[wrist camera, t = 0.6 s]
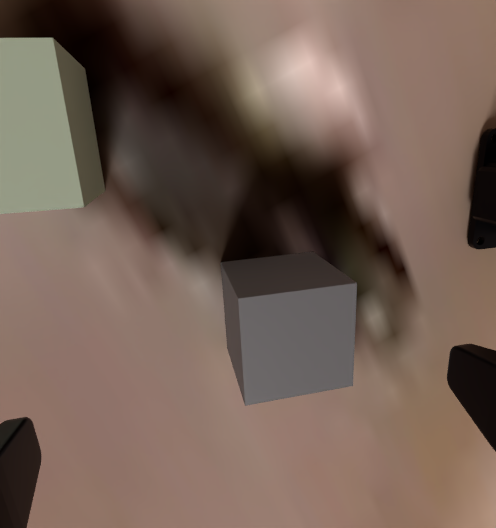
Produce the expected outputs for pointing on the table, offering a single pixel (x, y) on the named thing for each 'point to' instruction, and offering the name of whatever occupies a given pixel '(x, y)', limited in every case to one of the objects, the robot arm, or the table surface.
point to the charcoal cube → (289, 325)
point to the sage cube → (45, 129)
